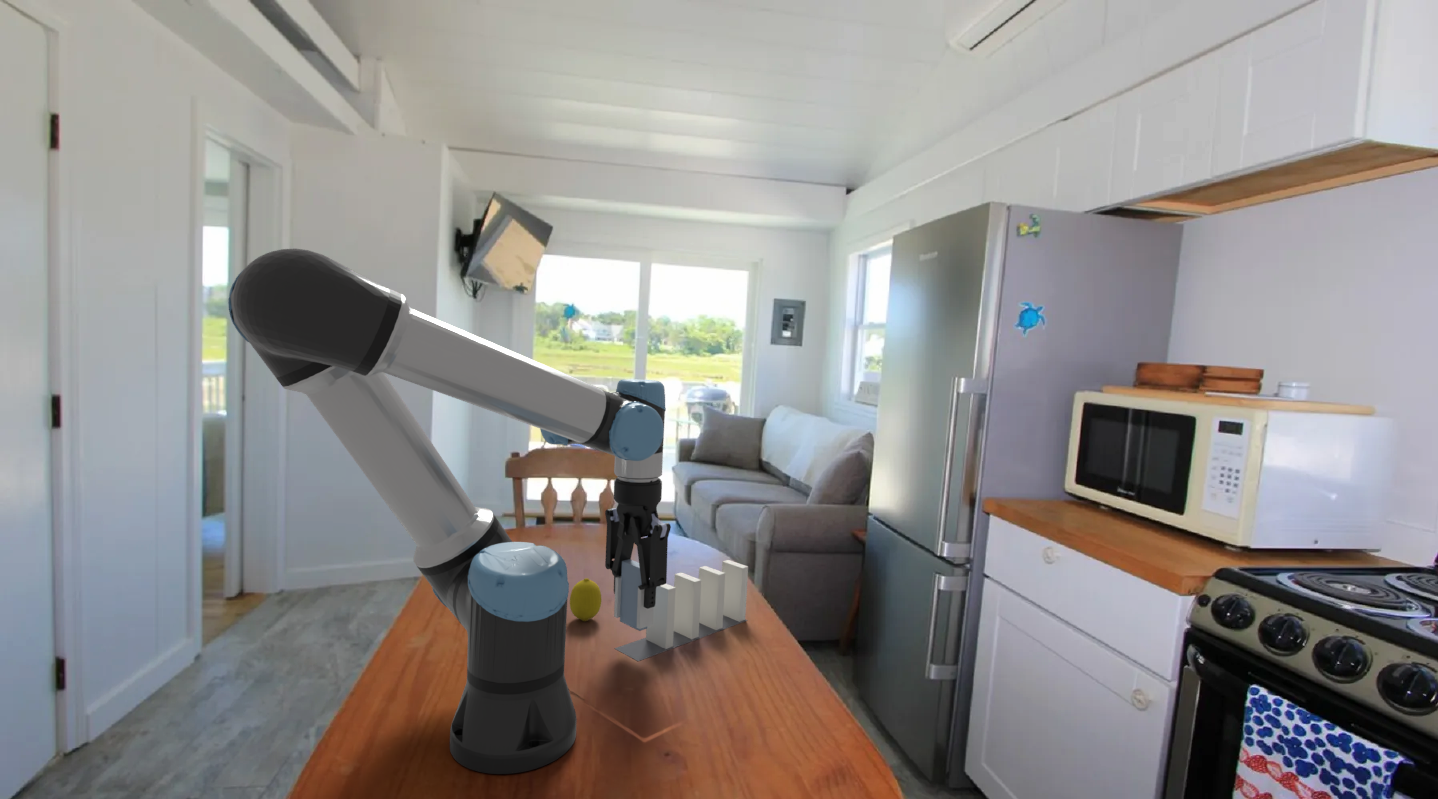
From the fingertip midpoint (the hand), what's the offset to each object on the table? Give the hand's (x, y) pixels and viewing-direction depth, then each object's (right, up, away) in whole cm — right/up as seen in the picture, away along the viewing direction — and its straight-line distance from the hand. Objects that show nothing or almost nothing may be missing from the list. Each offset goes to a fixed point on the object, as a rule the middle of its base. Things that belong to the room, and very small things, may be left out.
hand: (633, 620), depth 111 cm
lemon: (-10, -5, +13) cm, 17 cm away
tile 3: (+8, -5, +9) cm, 13 cm away
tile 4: (+12, -5, +13) cm, 19 cm away
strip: (+8, -6, +9) cm, 13 cm away
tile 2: (+4, -5, +5) cm, 8 cm away
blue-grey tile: (0, -1, 0) cm, 1 cm away
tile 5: (+16, -5, +18) cm, 24 cm away
